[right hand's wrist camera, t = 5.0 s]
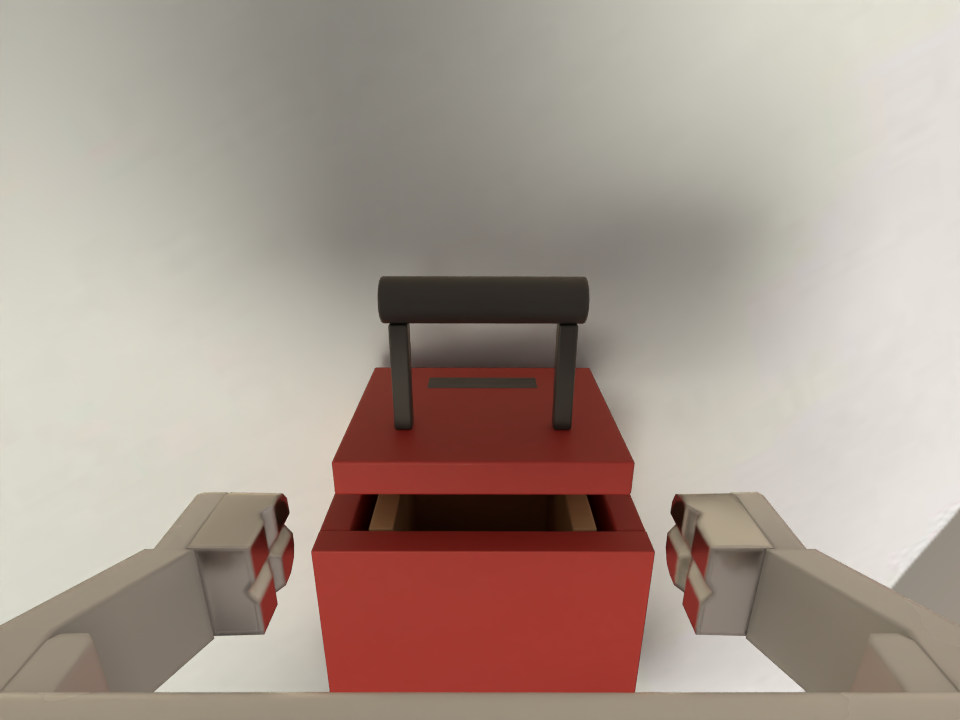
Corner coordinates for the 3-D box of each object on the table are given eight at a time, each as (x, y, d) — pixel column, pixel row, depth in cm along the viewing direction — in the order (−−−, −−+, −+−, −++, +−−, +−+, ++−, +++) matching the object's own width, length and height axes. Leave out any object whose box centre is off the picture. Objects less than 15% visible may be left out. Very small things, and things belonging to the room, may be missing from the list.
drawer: (366, 246, 22) (312, 296, 15) (599, 246, 22) (655, 296, 15) (394, 649, 30) (368, 807, 23) (567, 649, 30) (594, 807, 23)
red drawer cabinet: (368, 409, 26) (310, 551, 17) (595, 409, 26) (655, 551, 17) (390, 684, 32) (355, 892, 23) (572, 684, 32) (606, 892, 23)
